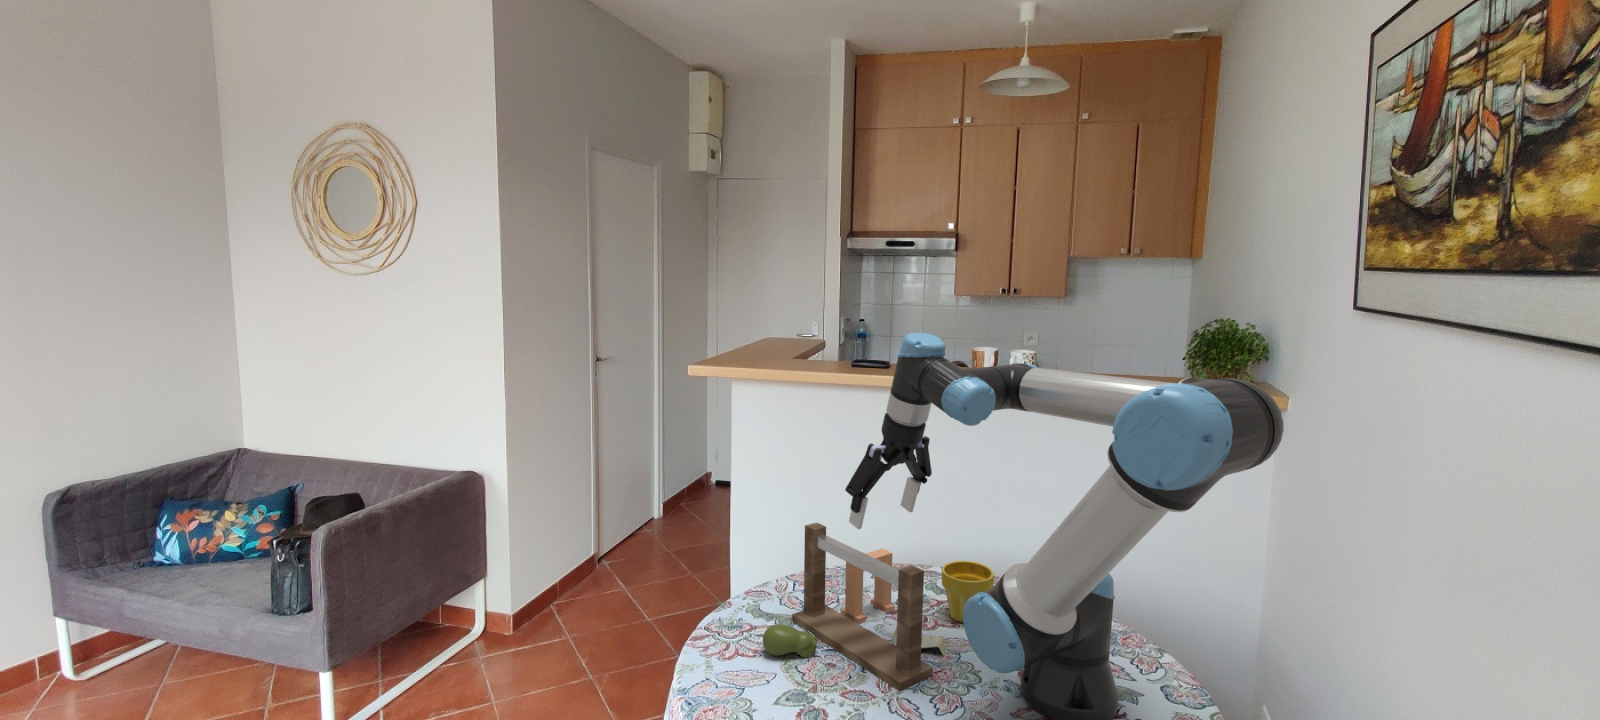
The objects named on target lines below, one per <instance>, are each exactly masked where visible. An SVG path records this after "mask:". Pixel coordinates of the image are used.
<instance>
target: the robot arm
mask: <svg viewBox="0 0 1600 720" xmlns="http://www.w3.org/2000/svg"><path fill="white" fill-rule="evenodd" d="M946 348H947V347H946V343H945V342H944V340H943V339H942V338H940V337H938V336H936V335H934V334H930V333H926V332H910V333H907V334H906V335H905V336H904V337H903V339H902V342H901V345H900V348H899V352H898V354H897V361H896V363H895V364H896V365H895V369H894V373H893V374H894V375H893V378H892V383H891V388H890V393H889V396H888V401H887V405H886V409H885V410H886V411H885V414H884V416H883V419H882V420H883V421H882V425H881V428H880V429H881V434H882V437H883V438H882V441H881V443H880V444H879V445H876V444H874V443H869V444H868V446H867V449H866V451H865V455H864V456H863V458H862V460H861V462H860V463H859V465H858V466H857V469H856V470H855V472H854V473H853V475H852V476H851V478H850V481H849V482H848V484H847V485H846V486H845V489H844V491H845V492H846V493H848V494H849V496H851V497H852V498H851V503H850V514H849V518H848V519H849V520H848V522H849V523H850V524H851V525H853V526H854V527H855V528H856V529H857V530H861V529H862V527H863V522H864V518H865V515H866V510H867V505H868V502H869V497H867V496H868V494H869V493H870V492H871V490H872V489H873V487H875V485H876V484H877V483H878V482H879V480H880V479H881V478H882V476H884V475H885V473H886V472H888V471H890V470H891V469H892V468H893V467H896V466H897V465H903V464H905V465H906V467H907V469H908V471H909V473H910V475H911V476H910V475H909V476H907V477H906V478H907V479H906V482H905V485H904V490H903V493H902V496H901V497H902V498H901V502H900V507H902V508H904V509H905V510H906V512H909V513H913V512H914V507H915V505H916V501H917V496H918V494H919V492H920V490H921V489H920V488H921V484H923V485H924V484H925V485H926V483H928V478H930V477H931V476H932V466H931V458H930V451H929V445H930V438H929V437H928V436H926V435H925V434H924V433H925V430H926V426H927V424H926V422H927V421H928V419H929V416H930V412H931V407H932V405H934V406H935V407H937V408H938V409H939V410H941V411H942V412H944V413H945V414H946V415H947V416H948V417H950V418H951V419H954V420H955V421H958V422H960V423H962V425H965V426H969V427H972V426H978V425H979V424H981V422H982V421H986V420H987V419H988V418H989V417H990V415H991V414H992V413H993V411H1001V410H1002V411H1003V410H1015V411H1023V412H1028V413H1036V414H1041V415H1047V416H1053V417H1058V418H1064V419H1068V420H1069V419H1070V420H1074V421H1079V422H1085V423H1092V424H1096V425H1101V426H1106V427H1112V431H1111V433H1112V434H1113V435H1114V436H1113V438H1114V439H1113V441H1112V442H1111V443H1110V445H1109V447H1108V449H1107V452H1106V453H1107V460H1108V462H1109V466H1108V467H1107V469H1106V470H1105V471H1103V473H1102V474H1101V475H1100V477H1099V478H1098V479H1097V480H1096V481H1095V482H1094V484H1093V485H1092V486H1091V488H1089V490H1088V491H1087V492H1086V493H1085V495H1084V496H1083V497H1082V498H1081V499H1080V500H1079V502H1077V504H1076V505H1075V506H1074V507H1073V508H1072V510H1071V511H1070V513H1069V514H1068V515H1067V516H1066V517H1064V519H1063V521H1061V522H1060V524H1059V525H1058V526H1057V527H1056V529H1055V530H1054V531H1053V532H1052V534H1051V535H1050V536H1049V537H1048V538H1047V540H1046V541H1045V542H1044V543H1043V544H1042V545H1041V547H1040V548H1039V549H1038V551H1036V553H1035V554H1034V555H1033V556H1032V557H1031V559H1030V560H1029V561H1028V562H1027V563H1026V562H1025V563H1024V562H1023V563H1022V562H1021V563H1016V564H1013V565H1011V567H1009V568H1008V569H1007V570H1005V573H1004V574H1002V576H1001V577H1000V578H999V580H998V581H996V583H994V587H992V588H991V589H990V590H988V591H986V592H979V593H977V594H975V595H974V596H972V597H971V598H969V599H968V601H967V602H966V604H965V607H964V611H963V622H962V623H963V626H964V633H965V636H966V638H967V640H968V643H969V645H970V647H971V649H972V650H973V652H974V653H975V655H976V656H977V658H978V659H979V660H980V661H981V662H982V663H983V665H985V666H986V667H987V668H989V669H991V670H993V671H994V672H996V673H999V674H1009V673H1013V672H1020V671H1022V673H1021V675H1020V676H1021V677H1020V689H1019V690H1020V695H1021V697H1022V698H1023V700H1024V702H1026V704H1027V705H1028V706H1029V707H1031V708H1032V709H1033V710H1035V711H1036V712H1037V713H1039V714H1041V715H1043V716H1044V717H1047V718H1049V719H1052V720H1112V719H1114V717H1116V715H1117V714H1118V709H1119V693H1118V692H1119V691H1118V689H1117V686H1116V682H1115V678H1114V675H1113V671H1112V667H1111V662H1110V652H1111V651H1110V649H1111V637H1112V624H1113V610H1114V600H1115V598H1116V597H1115V592H1114V590H1115V589H1114V587H1115V585H1114V584H1115V583H1114V582H1115V581H1114V579H1113V577H1112V575H1111V572H1112V571H1113V569H1114V568H1116V566H1117V565H1118V564H1119V563H1121V561H1122V560H1123V559H1124V558H1125V557H1126V556H1127V555H1128V554H1129V553H1130V552H1131V551H1132V550H1133V549H1134V548H1135V547H1136V545H1138V543H1140V542H1141V540H1142V539H1143V538H1145V536H1147V534H1149V532H1150V531H1151V530H1152V529H1153V528H1154V527H1155V526H1156V525H1157V524H1158V523H1159V522H1160V521H1161V520H1162V519H1163V518H1164V517H1165V515H1167V513H1169V512H1171V513H1173V512H1174V513H1183V512H1187V511H1189V510H1191V509H1192V508H1193V507H1194V506H1195V505H1196V503H1198V502H1199V500H1201V499H1202V498H1203V497H1204V496H1205V495H1206V494H1207V493H1208V492H1209V491H1210V490H1211V489H1212V488H1213V487H1214V486H1215V485H1216V484H1217V483H1218V482H1220V480H1222V479H1223V478H1224V477H1226V476H1228V475H1233V474H1237V473H1241V472H1244V471H1248V470H1252V469H1253V468H1256V467H1258V466H1260V465H1262V464H1263V463H1264V462H1266V461H1267V460H1268V459H1270V458H1271V457H1273V455H1274V453H1275V452H1276V451H1277V450H1278V448H1279V446H1280V444H1281V442H1282V439H1283V436H1284V431H1285V430H1284V429H1285V428H1284V420H1283V418H1284V417H1283V414H1282V411H1281V409H1280V407H1279V405H1278V403H1277V402H1276V401H1275V399H1274V398H1273V397H1272V396H1271V395H1270V393H1268V392H1267V391H1266V390H1265V389H1263V388H1262V387H1260V386H1259V385H1257V384H1255V383H1253V382H1250V381H1247V380H1244V379H1239V378H1227V377H1226V378H1225V377H1224V378H1217V379H1214V378H1213V379H1212V378H1199V377H1198V378H1196V377H1185V378H1183V379H1181V380H1180V381H1179V382H1177V383H1176V382H1175V383H1174V382H1169V381H1168V382H1167V381H1166V382H1165V381H1157V380H1149V379H1140V378H1131V377H1122V376H1114V375H1106V374H1105V375H1104V374H1095V373H1088V372H1087V373H1086V372H1078V371H1068V370H1060V369H1053V368H1051V369H1050V368H1044V367H1038V366H1037V365H1035V364H1031V363H1024V362H1023V363H1019V362H1015V363H1011V364H1005V365H995V366H984V367H983V366H981V367H971V368H962V367H959V366H958V365H957V364H954V363H953V362H951V361H950V360H948V359H947V358H945V355H946ZM882 459H883V461H882ZM927 477H928V478H927Z"/></svg>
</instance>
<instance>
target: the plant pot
mask: <svg viewBox="0 0 1600 720" xmlns="http://www.w3.org/2000/svg"><path fill="white" fill-rule="evenodd" d="M994 585H995V574H994V570H993V569H992V568H991V567H989V566H987V565H985V564H983V563H981V562H976V561H971V560H953V561H949V562H947V563H945V564H944V565H943V566H942V567H941V586H942V587H943V588H944V589H945V593H946V599H947V604H948V611H949V615H950V617H951V618H952V619H953V620H955V621H957V622H960V623H963V611H964V607H965V604H966V602H967V601H968V599H969V598H971V597H972V596H974V595H975V594H977V593H979V592H986V591H988V590H990V589H991V588H992V587H994Z"/></svg>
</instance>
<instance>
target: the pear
mask: <svg viewBox="0 0 1600 720" xmlns="http://www.w3.org/2000/svg"><path fill="white" fill-rule="evenodd" d="M817 643H818V638H817V637H815V636H814V635H812V634H811V633H809V632H808V631H806V630H805V631H804V630H803V631H802V630H799V629H796V628H795V627H793V626H790V625H786V624H782V623H781V624H772V625H770V626H768V627H767V628H766V629H765V631H764V632H763V636H762V645H763V648H764V650H765V651H766V652H767V653H768V654H769V655H771V656H776V657H779V656H784V655H787V654H790V653H796V654H798V655H799V656H800V657H802V658H807V657H811V656H812V657H813V656H814V653H815V651H816V650H817ZM812 657H811V658H812Z"/></svg>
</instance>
